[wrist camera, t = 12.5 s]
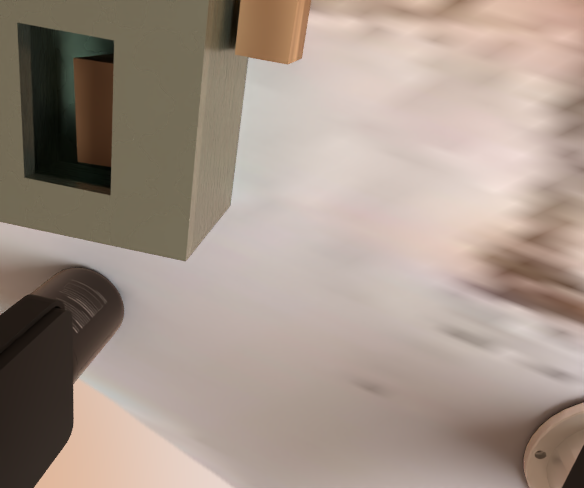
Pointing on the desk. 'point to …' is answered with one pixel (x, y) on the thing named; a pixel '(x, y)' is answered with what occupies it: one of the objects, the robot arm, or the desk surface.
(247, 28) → the token
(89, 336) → the supplement bottle
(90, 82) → the block
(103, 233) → the box
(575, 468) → the robot arm
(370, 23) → the desk surface
